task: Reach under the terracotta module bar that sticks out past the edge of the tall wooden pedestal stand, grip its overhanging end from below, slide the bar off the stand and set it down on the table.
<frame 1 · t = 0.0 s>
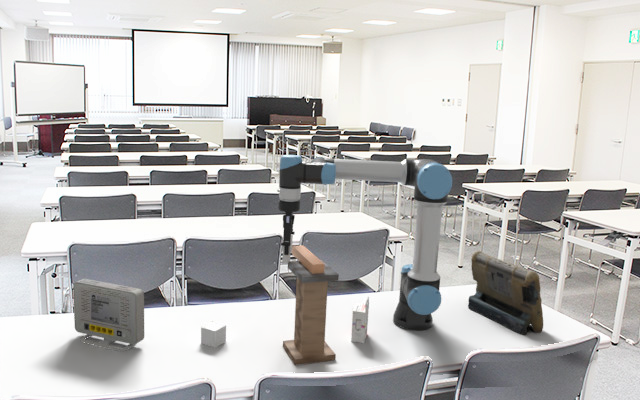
hand: (287, 257, 202), 28 cm above the table, tool pointing down, fingers open, 13 cm apart
tablet: (502, 319, 230), on the table
wooden pedestal stand: (308, 353, 192), on the table
ink cartridge box: (358, 338, 205), on the table
network device: (108, 342, 193), on the table
module bar: (307, 262, 191), point 30 cm above the table, touching wooden pedestal stand
white cube: (213, 343, 196), on the table
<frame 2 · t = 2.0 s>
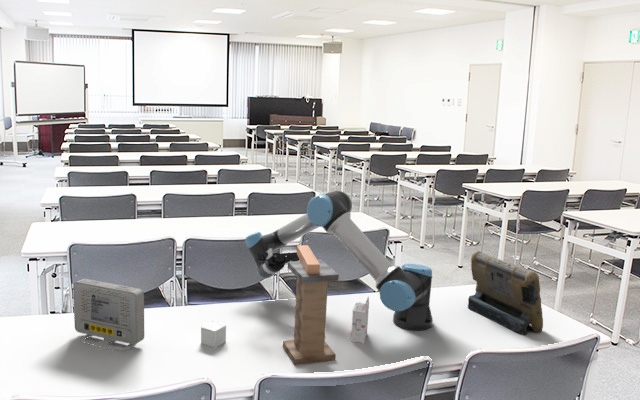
hand: (288, 251, 211), 28 cm above the table, tool pointing upward, fingers open, 13 cm apart
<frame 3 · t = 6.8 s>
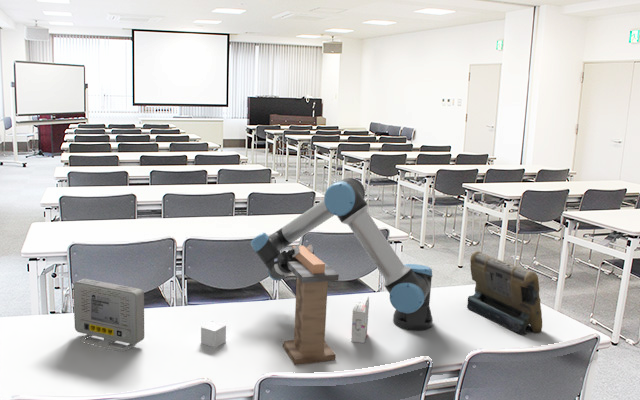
hand: (305, 248, 193), 34 cm above the table, tool pointing upward, fingers closed on module bar, 4 cm apart
module bar: (307, 263, 191), point 30 cm above the table, touching gripper
everything else where it was.
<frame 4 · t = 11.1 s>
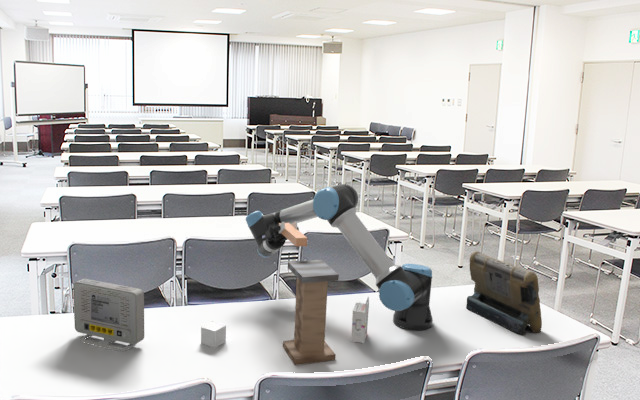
hand: (290, 224, 208), 38 cm above the table, tool pointing upward, fingers closed on module bar, 4 cm apart
module bar: (292, 238, 206), point 34 cm above the table, touching gripper
everything else where it was.
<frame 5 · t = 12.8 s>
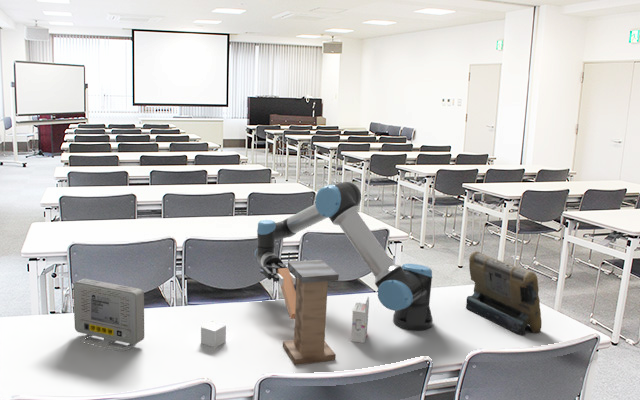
hand: (288, 281, 212), 16 cm above the table, tool horizontal, fingers closed on module bar, 4 cm apart
module bar: (288, 295, 212), point 11 cm above the table, tilted 29°, touching gripper
when the fingers open (7 cm above the table, at t = 15.0 s): module bar drops 3 cm, on the table.
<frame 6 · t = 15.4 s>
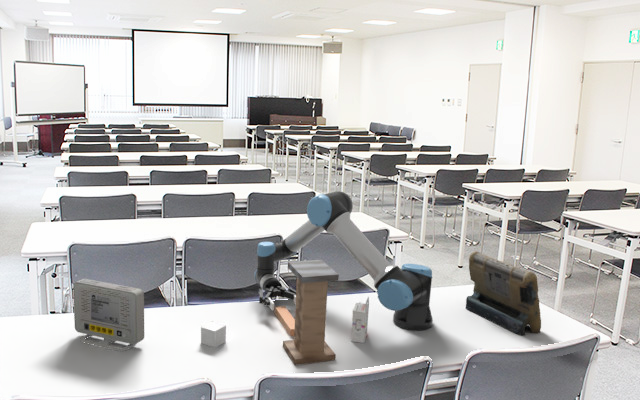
hand: (286, 305, 215), 6 cm above the table, tool horizontal, fingers open, 10 cm apart
module bar: (287, 324, 215), on the table
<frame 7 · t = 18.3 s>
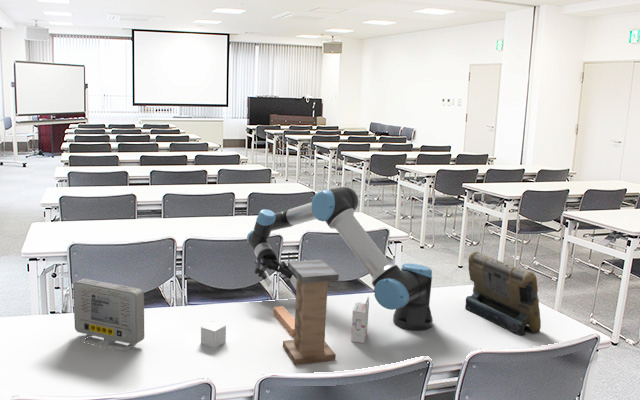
hand: (283, 285, 228), 9 cm above the table, tool tilted 70°, fingers open, 13 cm apart
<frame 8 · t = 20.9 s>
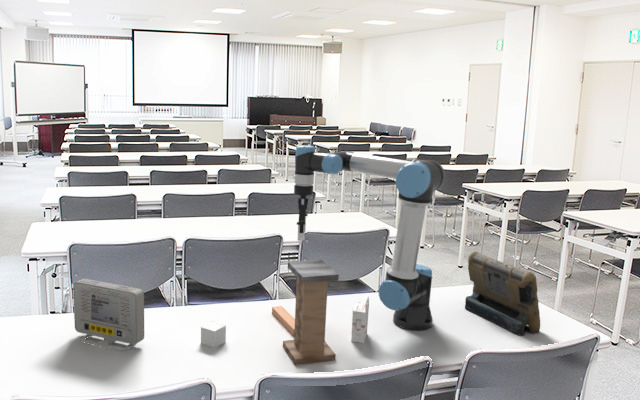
hand: (301, 236, 230), 29 cm above the table, tool pointing down, fingers open, 13 cm apart
at the end: module bar inside the target area (0.7 cm from its centre), on the table; the gripper is holding nothing; module bar touching table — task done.
